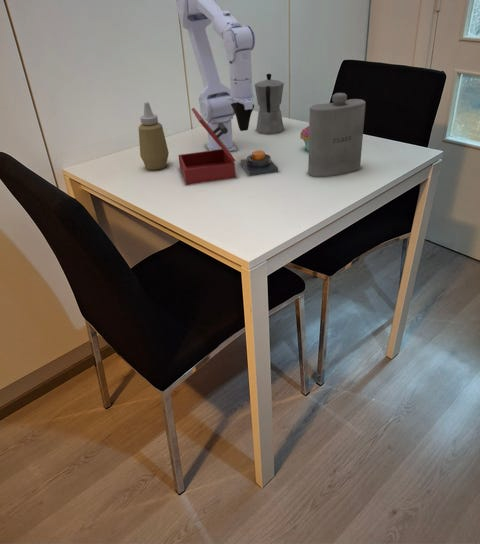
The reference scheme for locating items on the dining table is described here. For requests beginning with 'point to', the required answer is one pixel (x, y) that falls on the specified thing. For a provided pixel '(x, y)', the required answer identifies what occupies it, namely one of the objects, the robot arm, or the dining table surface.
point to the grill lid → (213, 133)
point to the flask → (336, 136)
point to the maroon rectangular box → (206, 166)
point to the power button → (258, 155)
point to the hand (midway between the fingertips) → (243, 129)
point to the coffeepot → (269, 106)
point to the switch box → (258, 165)
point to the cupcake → (305, 137)
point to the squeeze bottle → (152, 141)
